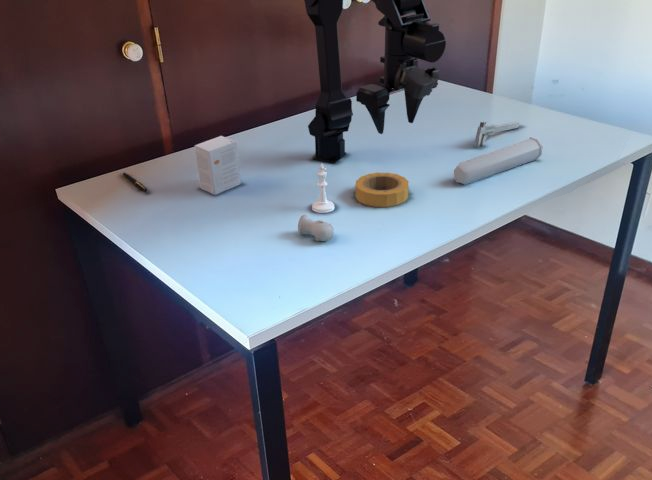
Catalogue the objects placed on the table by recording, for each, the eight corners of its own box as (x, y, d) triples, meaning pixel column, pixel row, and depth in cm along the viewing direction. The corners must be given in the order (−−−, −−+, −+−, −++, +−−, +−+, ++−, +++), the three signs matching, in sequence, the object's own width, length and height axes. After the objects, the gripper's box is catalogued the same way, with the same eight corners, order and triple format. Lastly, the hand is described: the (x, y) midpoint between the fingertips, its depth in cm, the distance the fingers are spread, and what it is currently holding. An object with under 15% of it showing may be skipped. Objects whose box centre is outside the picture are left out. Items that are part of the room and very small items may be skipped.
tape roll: (347, 201, 156) (346, 188, 155) (369, 181, 164) (369, 169, 163) (395, 211, 152) (395, 198, 150) (415, 190, 160) (416, 177, 158)
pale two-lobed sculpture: (337, 244, 143) (321, 246, 140) (308, 231, 148) (292, 233, 144) (342, 223, 142) (325, 225, 138) (312, 211, 146) (296, 212, 142)
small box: (226, 178, 169) (221, 134, 162) (241, 184, 165) (237, 140, 159) (199, 188, 164) (193, 144, 158) (214, 195, 161) (208, 151, 155)
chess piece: (326, 214, 151) (325, 170, 145) (307, 210, 153) (305, 166, 147) (338, 206, 155) (338, 162, 149) (319, 201, 157) (318, 158, 151)
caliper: (478, 148, 178) (481, 124, 174) (474, 147, 179) (477, 123, 175) (520, 126, 190) (524, 102, 186) (517, 125, 190) (520, 102, 187)
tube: (468, 173, 157) (546, 145, 167) (453, 159, 159) (530, 132, 170) (461, 192, 161) (537, 164, 171) (446, 178, 163) (522, 151, 174)
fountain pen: (119, 175, 172) (118, 169, 171) (124, 173, 173) (123, 168, 172) (144, 194, 163) (143, 188, 162) (149, 192, 163) (148, 186, 162)
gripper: (394, 69, 134) (391, 149, 143) (459, 50, 143) (453, 126, 152) (354, 58, 140) (354, 135, 150) (419, 40, 150) (415, 114, 159)
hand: (395, 128), depth 153 cm, fingers open, 9 cm apart
